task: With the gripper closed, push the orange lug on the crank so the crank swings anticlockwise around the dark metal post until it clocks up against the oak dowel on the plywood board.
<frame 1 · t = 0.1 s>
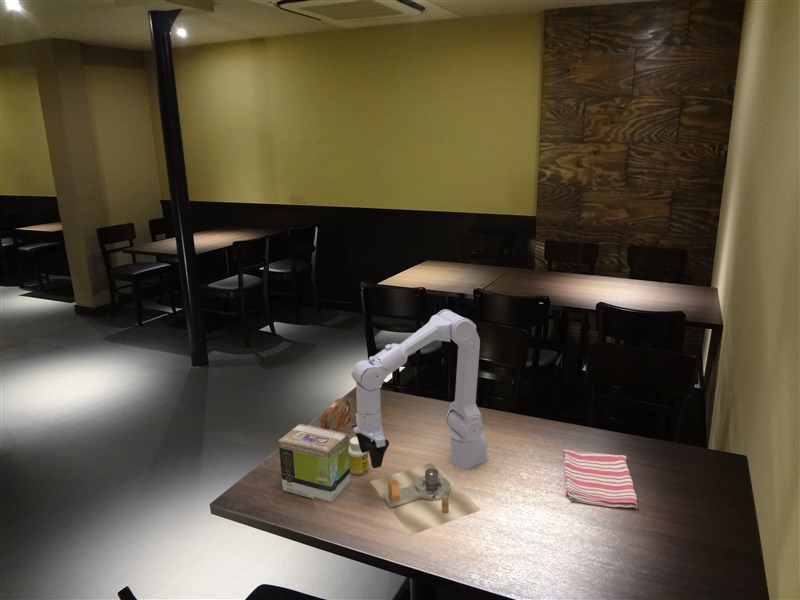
hand: (371, 459, 138), 10 cm above the table, tool pointing down, fingers open, 7 cm apart
dowel: (445, 514, 132), resting on board
supplement bottle: (358, 473, 150), on the table
crank: (417, 484, 138), point 4 cm above the table, hinge at 0.0°
brown flat packet: (336, 429, 173), on the table
board: (423, 498, 139), on the table
dish towel: (597, 481, 145), on the table
tea box: (317, 488, 144), on the table
post: (431, 492, 141), resting on board
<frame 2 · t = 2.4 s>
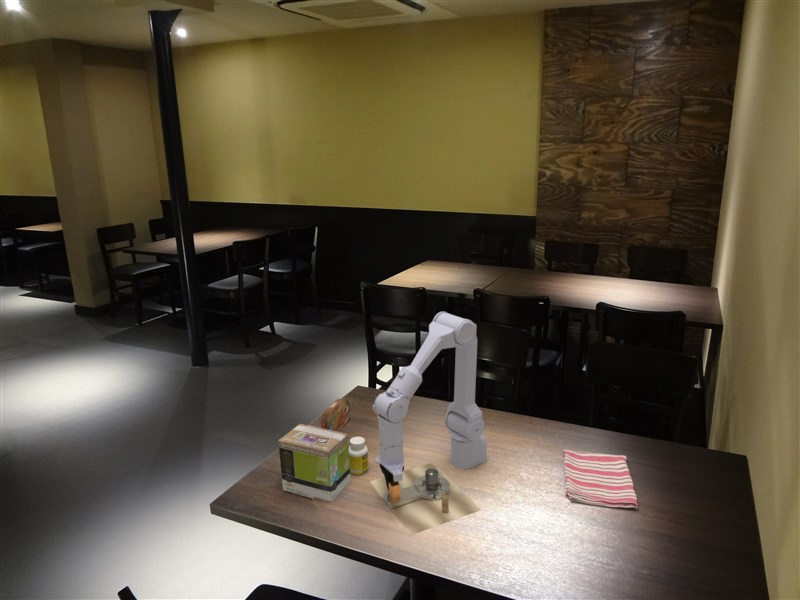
hand: (392, 490, 137), 3 cm above the table, tool pointing down, fingers closed
crank: (417, 484, 138), point 4 cm above the table, hinge at 1.7°, touching gripper
everything else where it was.
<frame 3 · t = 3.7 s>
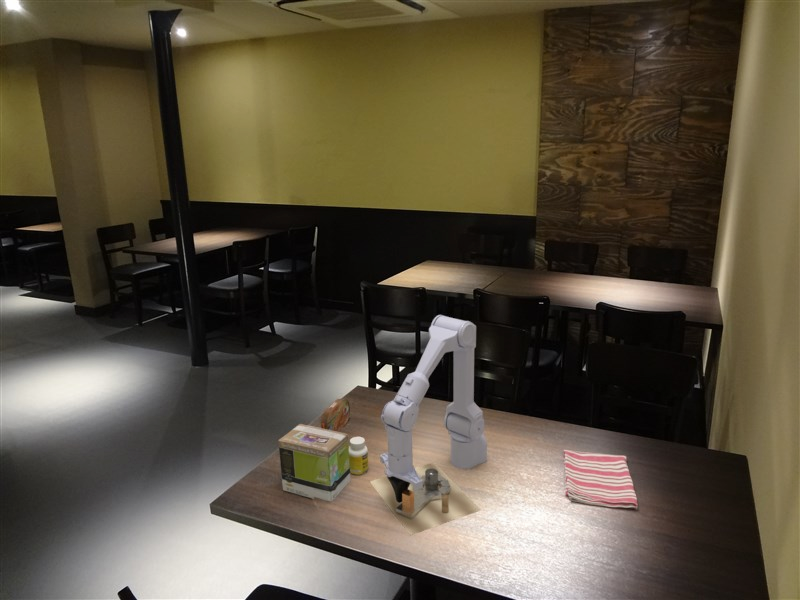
hand: (401, 500, 133), 3 cm above the table, tool pointing down, fingers closed
crank: (423, 487, 137), point 4 cm above the table, hinge at 29.1°, touching gripper
everything else where it was.
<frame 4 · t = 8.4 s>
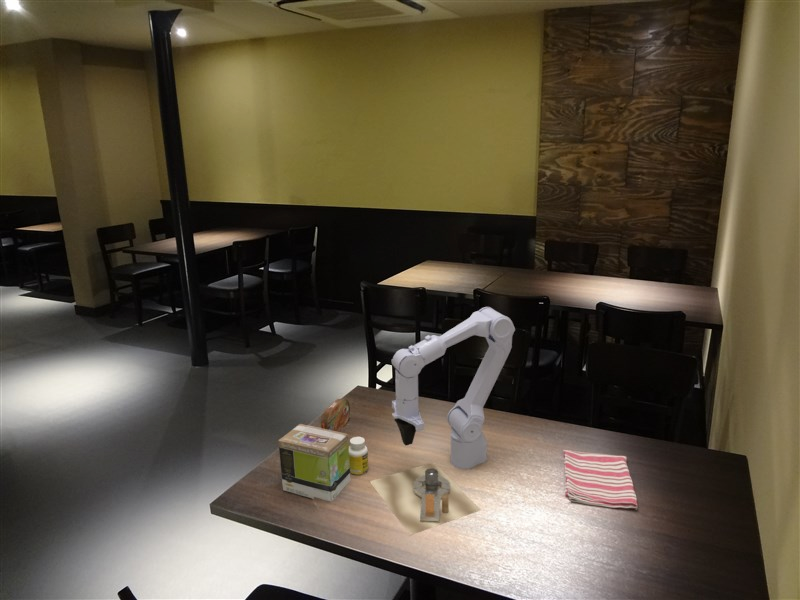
hand: (407, 443, 145), 10 cm above the table, tool pointing down, fingers closed
crank: (431, 489, 136), point 4 cm above the table, hinge at 58.6°
everything else where it was.
at the end: crank at +59° (first picture: +0°) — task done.
